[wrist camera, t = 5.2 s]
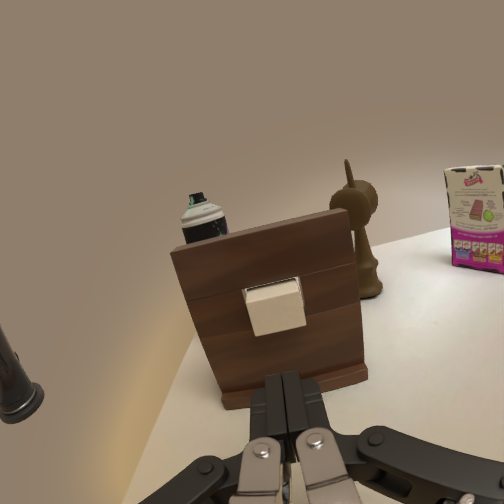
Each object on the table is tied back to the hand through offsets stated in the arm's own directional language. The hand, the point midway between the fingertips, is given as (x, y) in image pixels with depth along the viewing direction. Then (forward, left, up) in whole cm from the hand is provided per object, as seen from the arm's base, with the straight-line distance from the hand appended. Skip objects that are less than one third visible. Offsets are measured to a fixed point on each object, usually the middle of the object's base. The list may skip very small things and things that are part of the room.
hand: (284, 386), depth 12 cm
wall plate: (-9, +11, -11) cm, 17 cm away
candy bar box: (+12, +41, -11) cm, 44 cm away
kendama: (-7, +30, -11) cm, 33 cm away
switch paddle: (-7, +8, -2) cm, 10 cm away
